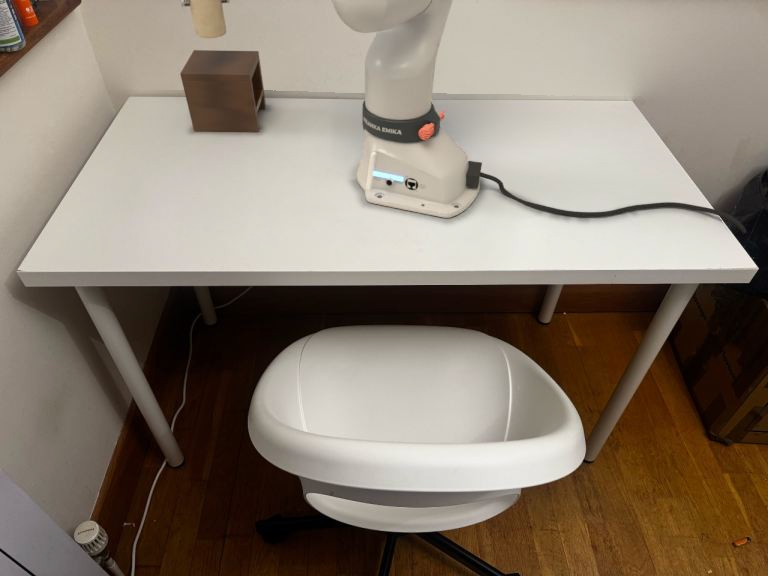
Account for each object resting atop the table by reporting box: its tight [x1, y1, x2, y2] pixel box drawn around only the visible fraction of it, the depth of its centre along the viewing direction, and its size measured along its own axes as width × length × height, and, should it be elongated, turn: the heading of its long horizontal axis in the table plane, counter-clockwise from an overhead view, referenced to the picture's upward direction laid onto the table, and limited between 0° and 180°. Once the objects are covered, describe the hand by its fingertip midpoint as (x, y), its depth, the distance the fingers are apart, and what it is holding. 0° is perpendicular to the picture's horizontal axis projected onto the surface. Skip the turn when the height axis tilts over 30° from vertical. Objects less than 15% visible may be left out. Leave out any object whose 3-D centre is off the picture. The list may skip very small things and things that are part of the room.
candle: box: [189, 0, 227, 39], centre depth 100 cm, size 6×6×10 cm
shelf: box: [179, 49, 267, 133], centre depth 114 cm, size 13×11×12 cm
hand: (206, 3), depth 100 cm, fingers closed on candle, 5 cm apart
